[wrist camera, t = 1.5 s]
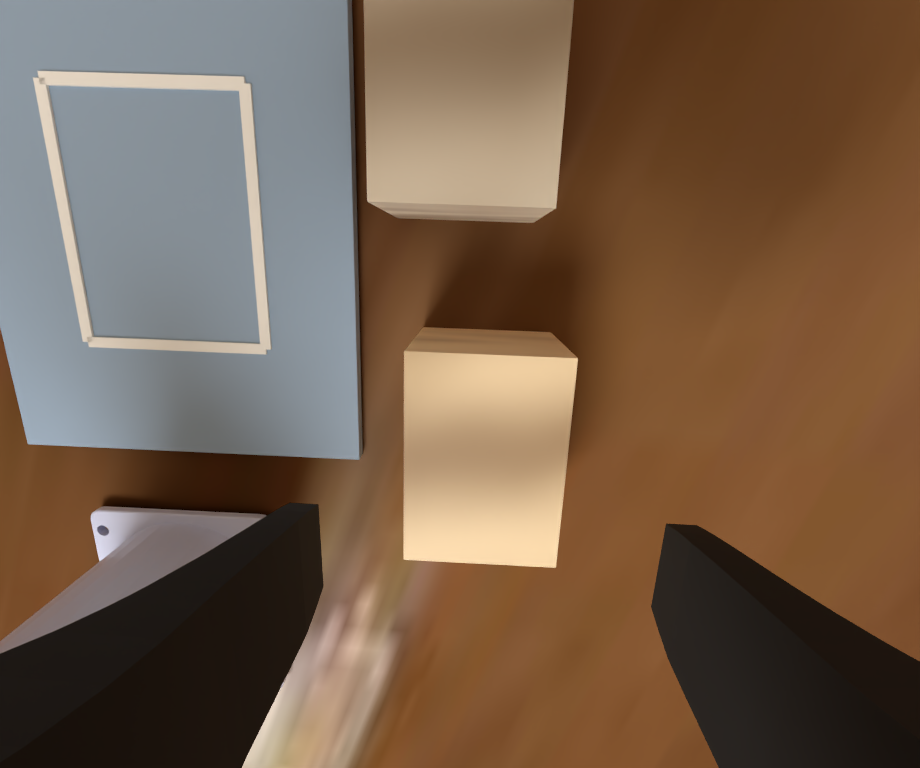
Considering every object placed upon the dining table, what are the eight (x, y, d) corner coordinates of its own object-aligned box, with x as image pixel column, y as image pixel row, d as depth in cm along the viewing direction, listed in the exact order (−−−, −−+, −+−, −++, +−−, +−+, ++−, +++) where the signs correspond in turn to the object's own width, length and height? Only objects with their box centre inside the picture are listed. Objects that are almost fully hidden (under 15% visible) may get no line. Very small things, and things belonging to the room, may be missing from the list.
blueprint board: (362, 453, 19) (358, 460, 19) (40, 438, 20) (25, 445, 19) (350, -66, 14) (344, -83, 14) (-76, -75, 15) (-102, -91, 14)
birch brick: (532, 223, 17) (556, 208, 12) (398, 218, 17) (367, 201, 12) (549, -3, 15) (585, -129, 10) (398, -6, 15) (361, -132, 10)
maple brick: (536, 492, 20) (555, 567, 15) (421, 486, 20) (403, 559, 15) (550, 331, 18) (578, 358, 13) (423, 326, 18) (404, 351, 13)
